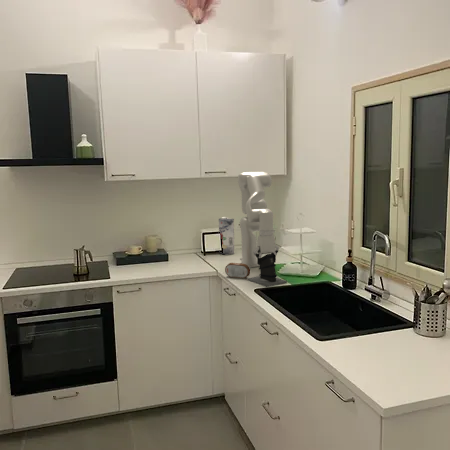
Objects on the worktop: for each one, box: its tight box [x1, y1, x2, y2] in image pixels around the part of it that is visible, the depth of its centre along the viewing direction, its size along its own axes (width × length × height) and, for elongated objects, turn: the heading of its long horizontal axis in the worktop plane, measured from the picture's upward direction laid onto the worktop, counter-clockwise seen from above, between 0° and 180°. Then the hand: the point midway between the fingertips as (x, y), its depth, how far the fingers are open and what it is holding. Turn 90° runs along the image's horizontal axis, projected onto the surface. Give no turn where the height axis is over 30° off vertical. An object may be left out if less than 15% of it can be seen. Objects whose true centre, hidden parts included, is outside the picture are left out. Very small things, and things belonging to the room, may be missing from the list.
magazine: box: [258, 253, 278, 282], centre depth 264 cm, size 4×13×15 cm, turn 32°
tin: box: [224, 262, 251, 279], centre depth 274 cm, size 15×3×8 cm, turn 66°
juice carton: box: [218, 216, 235, 256], centre depth 342 cm, size 9×10×27 cm
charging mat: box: [246, 275, 288, 288], centre depth 265 cm, size 18×14×4 cm
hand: (266, 263), depth 264 cm, fingers open, 9 cm apart
